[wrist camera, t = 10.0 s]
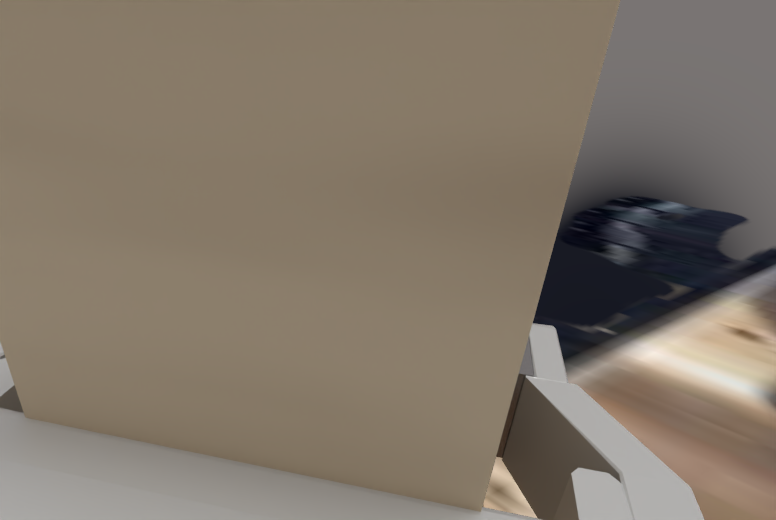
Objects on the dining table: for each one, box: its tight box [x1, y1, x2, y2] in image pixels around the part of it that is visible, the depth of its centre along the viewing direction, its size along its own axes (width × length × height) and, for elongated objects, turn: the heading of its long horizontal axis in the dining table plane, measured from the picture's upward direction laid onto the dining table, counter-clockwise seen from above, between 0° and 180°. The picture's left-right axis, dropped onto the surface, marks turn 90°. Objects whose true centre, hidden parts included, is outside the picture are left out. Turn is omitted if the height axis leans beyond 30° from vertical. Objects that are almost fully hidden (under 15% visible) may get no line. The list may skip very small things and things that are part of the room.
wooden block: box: [0, 0, 620, 512], centre depth 10 cm, size 8×4×14 cm, turn 170°
